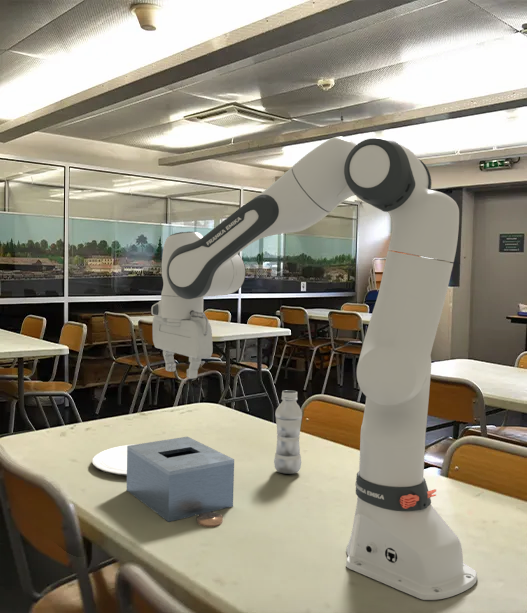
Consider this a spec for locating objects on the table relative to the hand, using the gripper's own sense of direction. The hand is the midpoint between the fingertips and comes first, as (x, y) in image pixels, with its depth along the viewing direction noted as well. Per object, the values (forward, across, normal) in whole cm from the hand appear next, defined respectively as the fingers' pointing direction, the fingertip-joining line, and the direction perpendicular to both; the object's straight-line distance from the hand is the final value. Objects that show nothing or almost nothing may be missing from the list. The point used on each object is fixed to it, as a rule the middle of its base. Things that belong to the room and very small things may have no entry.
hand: (181, 374), depth 132 cm
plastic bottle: (+27, +1, -30) cm, 41 cm away
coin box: (+27, 0, 0) cm, 27 cm away
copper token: (+27, -14, +1) cm, 31 cm away
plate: (+27, +25, -3) cm, 37 cm away
